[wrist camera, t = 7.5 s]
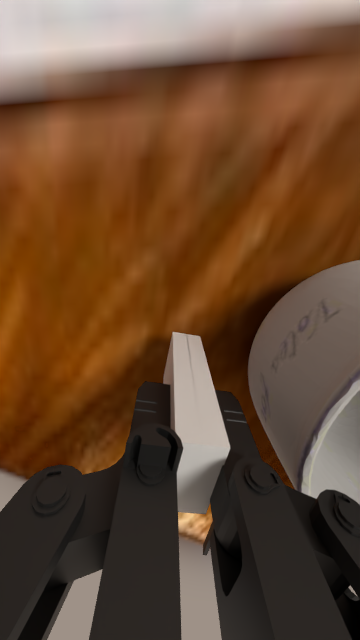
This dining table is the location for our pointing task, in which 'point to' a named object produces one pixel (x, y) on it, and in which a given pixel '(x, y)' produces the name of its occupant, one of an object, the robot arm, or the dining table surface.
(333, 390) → the teacup
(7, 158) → the dining table surface
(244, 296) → the dining table surface
